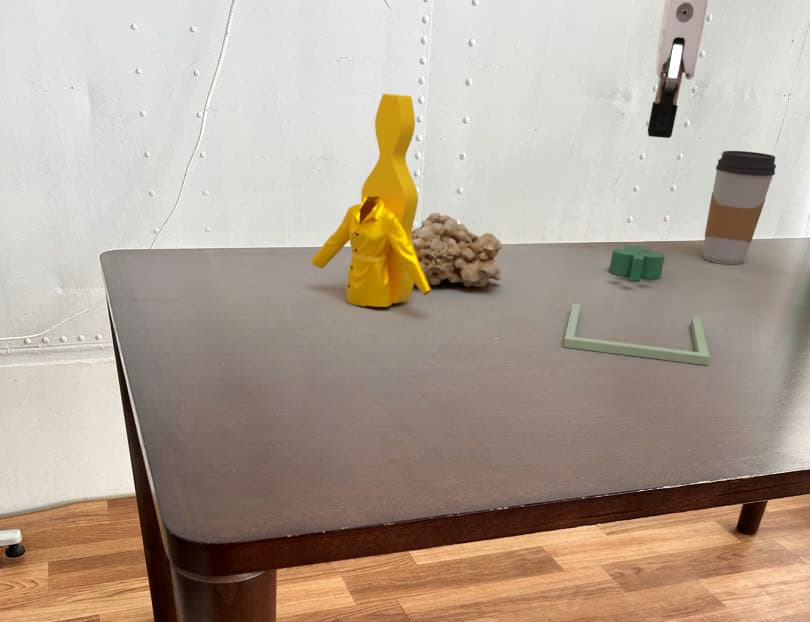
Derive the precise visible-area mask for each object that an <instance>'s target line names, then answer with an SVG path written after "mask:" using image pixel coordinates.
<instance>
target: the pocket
mask: <svg viewBox="0 0 810 622" xmlns="http://www.w3.org/2000/svg"><path fill="white" fill-rule="evenodd" d="M581 308H582V304H581V303H572V305H571V309H570V314H569V318H568V323H567V326H566V331H565V335H564V338H563V339H564V340H563V345H562V347H563V348H567V349H574V350H583V351H591V352H599V353H606V354H615V355H621V356H630V357H637V358H646V359H652V360H660V361H661V360H662V361H668V362H669V361H670V362H677V363H685V364H693V365H699V366H708V365H709V361H710V352H709V348H708V343H707V340H706V335H705V331H704V327H703V322H702V318H700V317H694V316H692V317H691V320H690V324H689V326H690V330H691V331H690V332H691V336H692V343H693V346H694V351H691V350H683V349H674V348H667V347H660V346H659V347H658V346H652V345H651V346H650V345H643V344H635V343H627V342H619V341H611V340H602V339H597V338H596V339H595V338H588V337H579V336H576V332H577V328H578V323H579V318H580V314H581Z"/></svg>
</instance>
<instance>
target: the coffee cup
mask: <svg viewBox="0 0 810 622" xmlns="http://www.w3.org/2000/svg"><path fill="white" fill-rule="evenodd" d="M775 161H776V156H775V155H772V154H768V153H762V152H754V151H745V150H724V151H723V152H722V154H721V157H720V158H719V159H717V164H716V166H715V169H716V171H715V178H714V183H713V189H712V192H711V197H710V201H709V208H708V214H707V219H706V225H705V226H706V227H705V232H704V240H703V247H702V251H701V252H702V255H703V259H704V260H705V259H706V260H705V261H708V262H711V261H712V262H711V263H715V262H716V263H715V264H720V263H721V264H720V265H740V264H742V263H743V261H744V260H745V259H746V257H747V253H748V251H749V248H750V244H751V243H752V240H753V238H754V235H755V232H756V229H757V226H758V224H759V220H760V217H761V214H762V211H763V208H764V205H765V202H766V198H767V194H768V192H769V189H770V185H771V183H772V179H773V176H775V175H776V170H775V169H776V167H777V165H776V164H775Z"/></svg>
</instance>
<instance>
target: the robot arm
mask: <svg viewBox="0 0 810 622" xmlns="http://www.w3.org/2000/svg"><path fill="white" fill-rule="evenodd" d="M708 1H709V0H665V1H664V6H663V11H662V12H663V13H662V18H661V23H660V29H659V34H658V42H657V50H656V60H655V75H656V76H657V77H658V82H657V88H656V92H655V98H654V101H652V105H651V111H650V115H649V116H650V117H649V121H648V126H647V135H648V137H651V138H663V139H664V138H665V139H670V138H671V137H672V136H673V131H674V126H675V121H676V116H677V111H678V106H679V105H677V103H678V99H679V94H680V89H681V85H682V81H683V80H682V79H683V74H685V76H684V78H685V79H686V80H692V79H693V78H694V77H695V72H696V65H697V60H698V54H699V50H700V45H701V41H702V40H701V39H702V35H703V30H704V25H705V19H706V14H707V8H708Z"/></svg>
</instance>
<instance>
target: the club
mask: <svg viewBox="0 0 810 622" xmlns="http://www.w3.org/2000/svg"><path fill="white" fill-rule="evenodd" d="M665 258H666V255H665V254H664V253H661V252H658V251H653V249H652V248H649V247H647V246H640V245H628V246H625V247H624V248H623V247H618V248H614V249H612V253H611V258H610V262H609V269H608V272H609V274H611V275H615V276H619V277H628V278H629V281H631V282H640V281H641V279H643V280H644V279H646V280H658V279H660V278H661V276H662V272H663V266H664V262H665Z"/></svg>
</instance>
